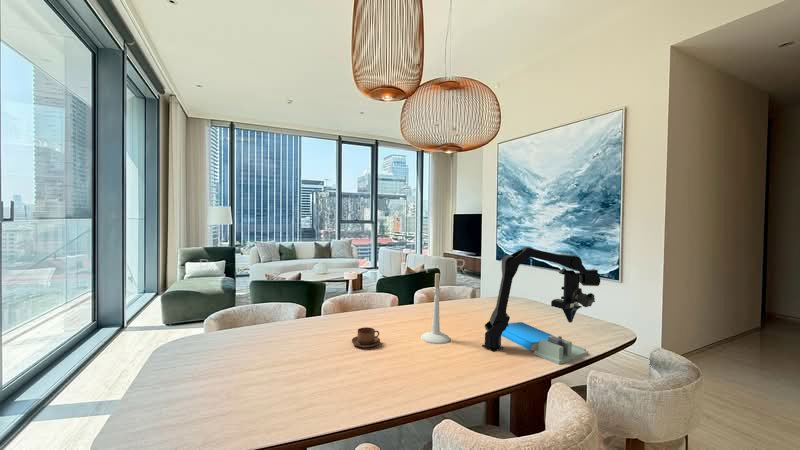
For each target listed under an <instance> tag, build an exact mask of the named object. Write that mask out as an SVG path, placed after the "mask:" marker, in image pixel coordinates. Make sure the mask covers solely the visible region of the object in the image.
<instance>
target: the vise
mask: <svg viewBox="0 0 800 450" xmlns="http://www.w3.org/2000/svg"><path fill="white" fill-rule="evenodd" d="M563 350H564V347H562V346H560V345H557V344H554V343H551V342H549V341H546V340H543V339H542V340H539V350H534V351H533V354H534V355H536V356H537V357H541V358H542V359H545V360H547V361H549V362H552V363H555V364H557V365H561V364H563V363H566V362H570V361H573V360H577V359H579V358H582V357H584V356H587V355H588V354H589V351H588V350H587V349H586V347H582V346H579V345H576V344H573V343H572V351H571V355H569V356H567V355H564V354H563Z"/></svg>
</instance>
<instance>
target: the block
mask: <svg viewBox="0 0 800 450" xmlns="http://www.w3.org/2000/svg"><path fill="white" fill-rule="evenodd" d="M554 336H555V335H553V336H552V337H549V342H551V343H554V344H557V345H560V346H562V339H563V338H562V339H560V338H557V337H558V336H556V337H554Z"/></svg>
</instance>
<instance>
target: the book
mask: <svg viewBox="0 0 800 450" xmlns="http://www.w3.org/2000/svg"><path fill="white" fill-rule="evenodd" d="M549 336H555V335H553V334H550V333H548V332H546V331H544V330H541V329H539V328H537V327H534V326H532V325H529V324H527V323H525V322H522V321H518V322H510V323H509V322H508V327H506V330H505V331H503V332H502V335H501V337H503V338H505V339H507V340H509V341H511V342H513V343H515V344H517V345H519V346H521V347H523V348H525V349H526V350H529V351H530V352H534V351H536V350H539V340H542V339H543V340H546V341H548V338H549ZM555 337H557V336H555Z"/></svg>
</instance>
